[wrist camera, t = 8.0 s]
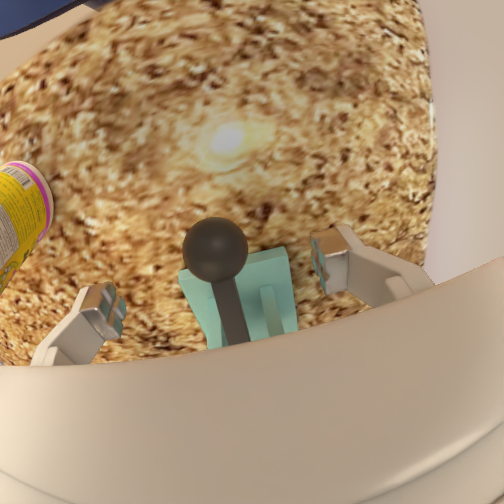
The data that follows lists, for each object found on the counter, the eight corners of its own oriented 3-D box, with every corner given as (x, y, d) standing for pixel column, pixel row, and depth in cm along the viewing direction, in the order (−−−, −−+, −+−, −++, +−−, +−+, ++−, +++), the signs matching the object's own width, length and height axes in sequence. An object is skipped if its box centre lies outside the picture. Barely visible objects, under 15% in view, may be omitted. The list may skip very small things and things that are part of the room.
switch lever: (183, 225, 15) (167, 226, 12) (240, 211, 15) (238, 208, 12) (241, 416, 16) (240, 448, 13) (287, 407, 16) (293, 439, 13)
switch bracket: (178, 270, 20) (164, 422, 11) (284, 245, 20) (338, 391, 10) (213, 342, 25) (220, 460, 16) (295, 324, 25) (330, 440, 16)
